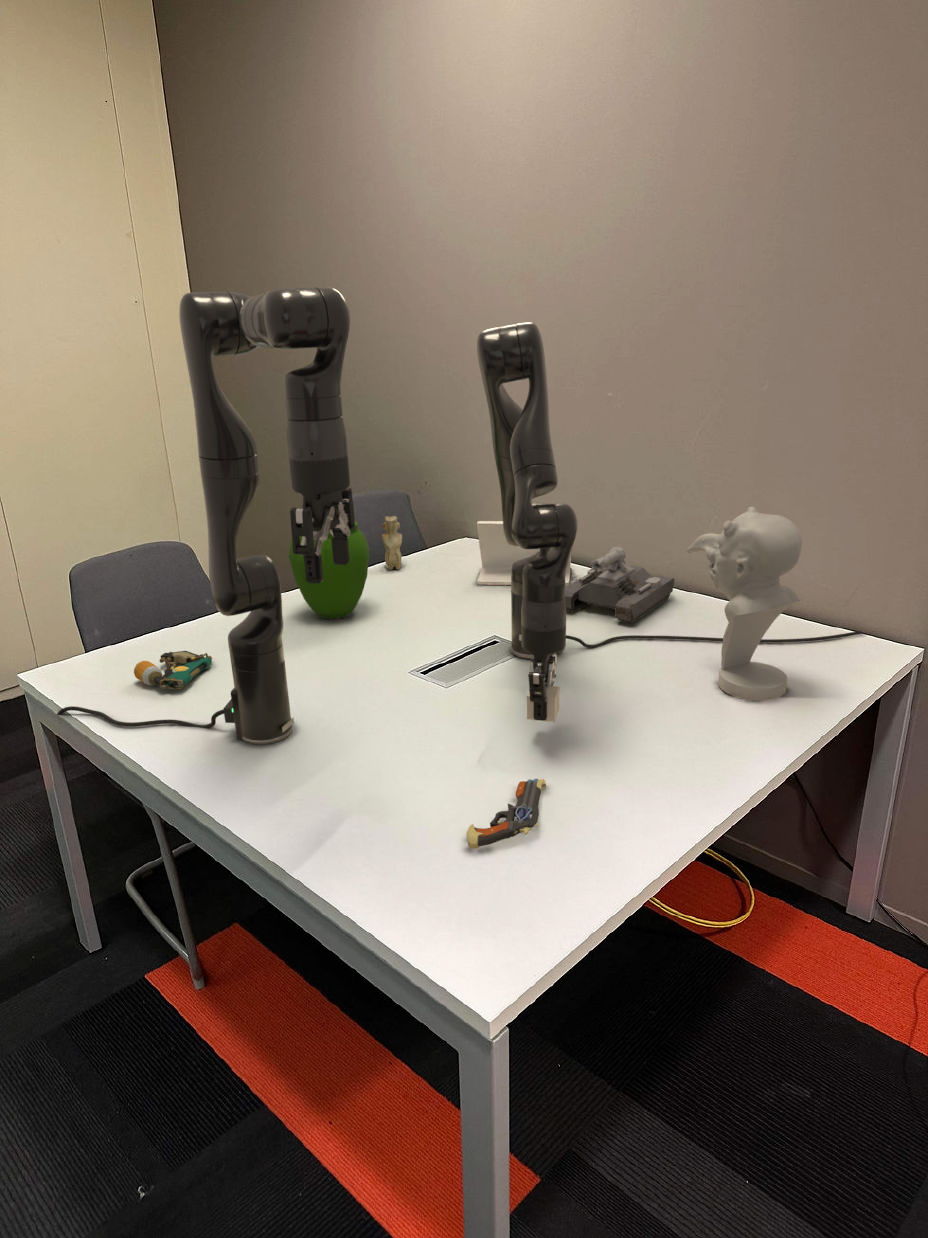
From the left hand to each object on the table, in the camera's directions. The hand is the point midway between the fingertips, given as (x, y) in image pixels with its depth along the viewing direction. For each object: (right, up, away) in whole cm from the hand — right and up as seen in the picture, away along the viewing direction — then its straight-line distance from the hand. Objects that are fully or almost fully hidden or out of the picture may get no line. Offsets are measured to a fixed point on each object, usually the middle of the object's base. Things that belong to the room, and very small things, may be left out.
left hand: (328, 572), depth 116 cm
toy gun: (+25, -36, +12) cm, 46 cm away
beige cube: (+32, -23, +34) cm, 52 cm away
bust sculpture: (+72, -19, +54) cm, 92 cm away
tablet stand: (+35, +6, +123) cm, 128 cm away
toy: (+57, -3, +99) cm, 114 cm away
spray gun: (-42, -18, +65) cm, 80 cm away
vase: (-14, -5, +98) cm, 99 cm away
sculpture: (-2, +9, +134) cm, 134 cm away
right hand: (+32, -23, +34) cm, 52 cm away
